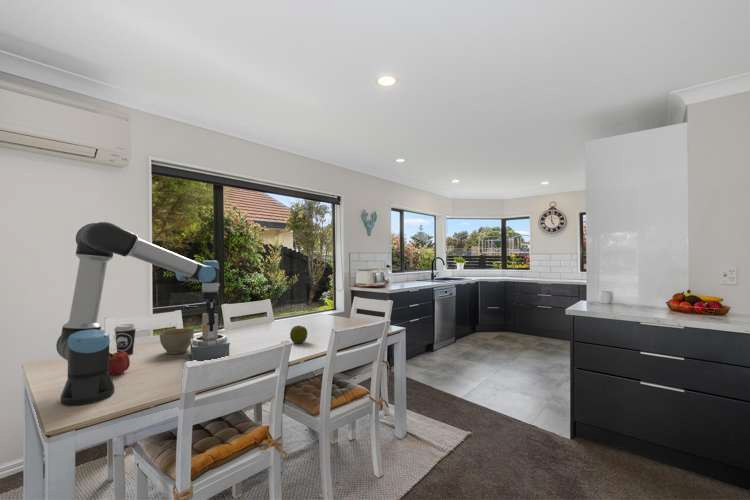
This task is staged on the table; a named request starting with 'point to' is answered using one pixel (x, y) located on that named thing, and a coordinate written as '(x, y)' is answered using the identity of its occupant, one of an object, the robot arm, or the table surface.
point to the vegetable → (118, 363)
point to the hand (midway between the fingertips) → (209, 335)
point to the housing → (209, 348)
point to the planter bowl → (176, 340)
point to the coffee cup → (125, 337)
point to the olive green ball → (298, 334)
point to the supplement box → (205, 327)
